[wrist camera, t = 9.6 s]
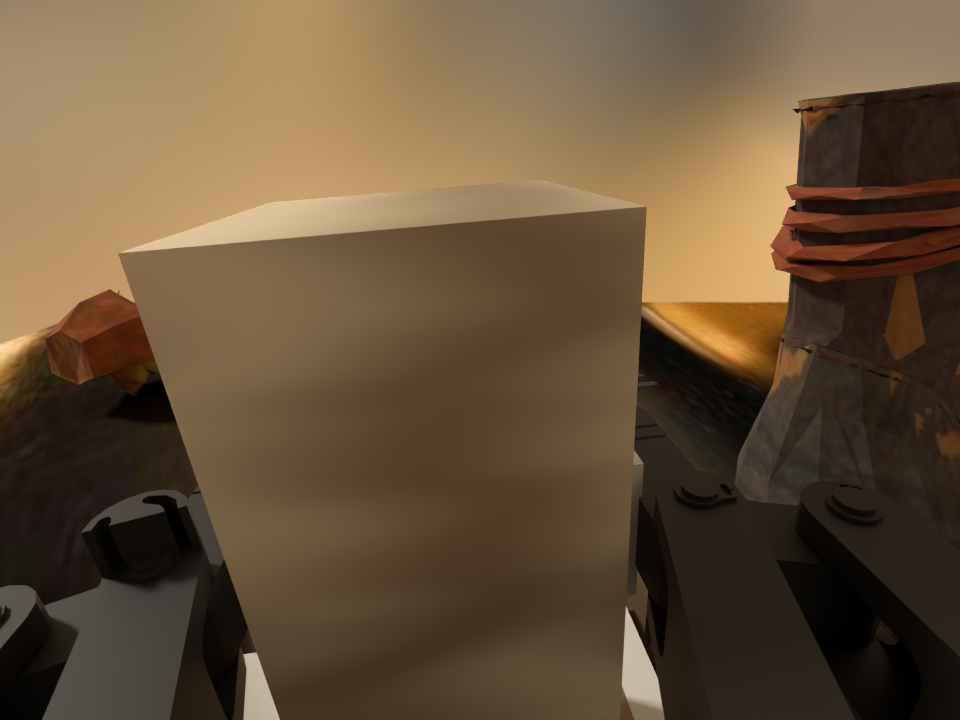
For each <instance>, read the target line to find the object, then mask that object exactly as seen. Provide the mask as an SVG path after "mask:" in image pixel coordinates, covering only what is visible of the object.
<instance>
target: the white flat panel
mask: <svg viewBox="0 0 960 720" xmlns="http://www.w3.org/2000/svg"><path fill="white" fill-rule="evenodd" d="M243 655H244V658H245V664H246V669H247V672H246V688H245V703H244V718H243V720H280V719H279V716H278V713H277V710H276V707H275V704H274V701H273V698H272V695H271V693H270V690H269V687H268V684H267V681H266V678H265V675H264V672H263V669H262V667H261V664H260V661H259V658H258V655H257V653H250V654H243ZM622 687H623V690H624V693H625V696H626V698H627V701H628V704H629V706H630V709H631V712H632V715H633V717H634V720H665V718H664V712H663V707H662V701H661V695H660V689H659V683H658V678H657V676H656V673H655V671H654V669H653V666H652V664H651V662H650V660H649V657H648V655H647V653H646V650H645V648H644V646H643V644H642V641H641V639H640V637H639V634H638V632H637V630H636V628H635V625H634V623H633V621H632V618H631V616H630V614H629V612H628V609H627V607H626V615H625V634H624V653H623V673H622Z"/></svg>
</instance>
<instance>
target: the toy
mask: <svg viewBox="0 0 960 720" xmlns="http://www.w3.org/2000/svg"><path fill="white" fill-rule="evenodd" d="M45 340H46V346H47V352H48V357H49V363H50V368H51V373H53V374H55V375H57V376H59V377H61V378H64V379H66V380H69V381H71V382H74V383H76V384H78V385H79V384H81V383H83V382H84V381H87V380H90V379H93V378H96V377H100V376H109V378H110V379H111V380H112V381H113V382H114V384H115V385H116V386H118V387H119V388H121V389H123V390H124V391H126V392H128V393H129V394H131V395H133V396H137V395H138V394H139V393H140V390H141V385H142V384H143V383H144V382H145V381H146V378H147V377H149V374H150V375H156V374H158V373H160V372H159V369H158V367H157V364H156V361H155V358H154V355H153V352H152V349H151V346H150V343H149V341H148V338H147V335H146V332H145V329H144V326H143V323H142V320H141V317H140V315H139V312H138V309H137V306H136V304H135V303H133V302H131V301H129V300H128V299H126V298H124V297H123V296H122V295H120V294H119V289H116V290H107V291H102V292H101V293H100V294H98V295H96V296H94V297H91V298H89V299H87V300H84V301H82V302H80V303H79V304H78V305H77V306H76V307H75V308H73V310H72V311H70V312H69V313H68V314H67V315H66V316H65V317H64V318H63V319H62V320H61V321H60V322H59V323H58V325H57V326H56V327H55V328H54V329H53V331H52V332H51V333H50V334H49V335H48V337H47V338H46V339H45Z"/></svg>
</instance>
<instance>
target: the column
mask: <svg viewBox="0 0 960 720" xmlns="http://www.w3.org/2000/svg"><path fill="white" fill-rule="evenodd" d="M645 227H646V206H643V205H639V204H635V203H631V202H627V201H623V200H619V199H615V198H611V197H607V196H603V195H599V194H595V193H591V192H587V191H583V190H579V189H575V188H571V187H567V186H563V185H559V184H555V183H551V182H547V181H543V180H532V181H521V182H508V183H497V184H484V185H472V186H461V187H449V188H438V189H425V190H413V191H401V192H389V193H378V194H366V195H353V196H342V197H330V198H319V199H306V200H294V201H282V202H271V203H267V204H265V205H262V206H258V207H255V208H252V209H249V210H247V211H243V212H240V213H237V214H234V215H231V216H228V217H225V218H223V219H219V220H216V221H213V222H210V223H207V224H204V225H201V226H198V227H195V228H192V229H189V230H187V231H184V232H181V233H178V234H174V235H171V236H169V237H166V238H162V239H159V240H156V241H153V242H150V243H147V244H145V245H141V246H138V247H135V248H132V249H130V250H127V251H123V252H121V253H118V254H119V257H120V260H121V263H122V265H123V268H124V271H125V274H126V277H127V280H128V283H129V286H130V289H131V292H132V294H133V297H134V300H135V303H136V306H137V309H138V312H139V315H140V317H141V320H142V323H143V326H144V329H145V332H146V335H147V338H148V341H149V343H150V346H151V349H152V352H153V355H154V358H155V361H156V364H157V367H158V369H159V372H160V375H161V378H162V381H163V384H164V387H165V390H166V392H167V395H168V398H169V401H170V404H171V407H172V410H173V413H174V416H175V418H176V421H177V424H178V427H179V430H180V433H181V436H182V439H183V442H184V444H185V447H186V450H187V453H188V456H189V459H190V462H191V465H192V467H193V470H194V473H195V476H196V479H197V482H198V485H199V488H200V491H201V493H202V496H203V499H204V502H205V505H206V508H207V511H208V514H209V517H210V519H211V522H212V525H213V528H214V531H215V534H216V537H217V540H218V543H219V545H220V548H221V551H222V554H223V557H224V560H225V563H226V566H227V568H228V571H229V574H230V577H231V580H232V583H233V586H234V589H235V592H236V594H237V597H238V600H239V603H240V606H241V609H242V612H243V615H244V618H245V620H246V623H247V626H248V629H249V632H250V635H251V638H252V641H253V643H254V646H255V649H256V652H257V655H258V658H259V661H260V664H261V667H262V669H263V672H264V675H265V678H266V681H267V684H268V687H269V690H270V693H271V695H272V698H273V701H274V704H275V707H276V710H277V713H278V716H279V719H280V720H620V712H621V692H622V673H623V653H624V634H625V615H626V595H627V576H628V556H629V537H630V518H631V498H632V479H633V459H634V440H635V421H636V401H637V382H638V362H639V343H640V324H641V304H642V284H643V265H644V245H645Z"/></svg>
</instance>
